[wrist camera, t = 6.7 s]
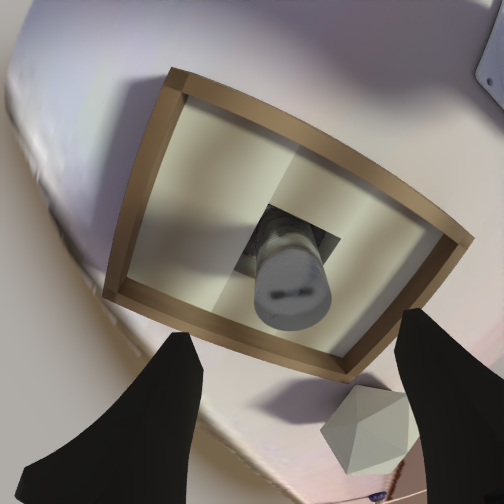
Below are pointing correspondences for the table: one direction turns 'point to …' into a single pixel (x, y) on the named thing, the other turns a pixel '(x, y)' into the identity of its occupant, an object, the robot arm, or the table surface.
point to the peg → (289, 274)
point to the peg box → (247, 217)
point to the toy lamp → (378, 497)
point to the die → (371, 430)
